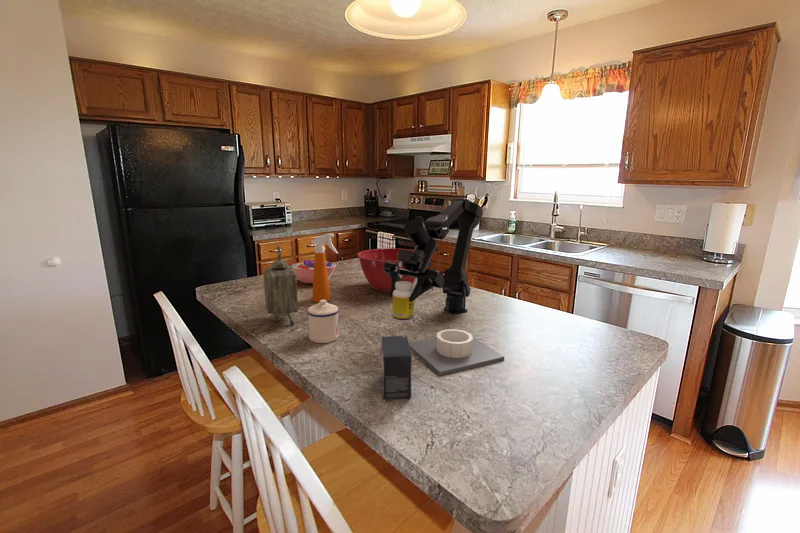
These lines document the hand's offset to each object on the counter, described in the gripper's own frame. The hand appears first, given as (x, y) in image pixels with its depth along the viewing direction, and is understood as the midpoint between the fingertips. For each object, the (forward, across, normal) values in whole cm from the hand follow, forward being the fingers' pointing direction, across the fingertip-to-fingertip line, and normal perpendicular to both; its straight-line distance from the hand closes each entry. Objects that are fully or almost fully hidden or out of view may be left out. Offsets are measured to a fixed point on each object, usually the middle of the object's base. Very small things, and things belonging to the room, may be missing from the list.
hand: (400, 299), depth 108 cm
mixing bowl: (-20, -35, +40) cm, 57 cm away
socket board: (+7, +16, +12) cm, 21 cm away
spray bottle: (0, -46, +20) cm, 50 cm away
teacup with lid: (+17, -21, +2) cm, 27 cm away
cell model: (-11, -68, +30) cm, 75 cm away
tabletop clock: (+16, -42, +3) cm, 45 cm away
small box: (+24, +13, -5) cm, 28 cm away
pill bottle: (+4, 0, +6) cm, 7 cm away
